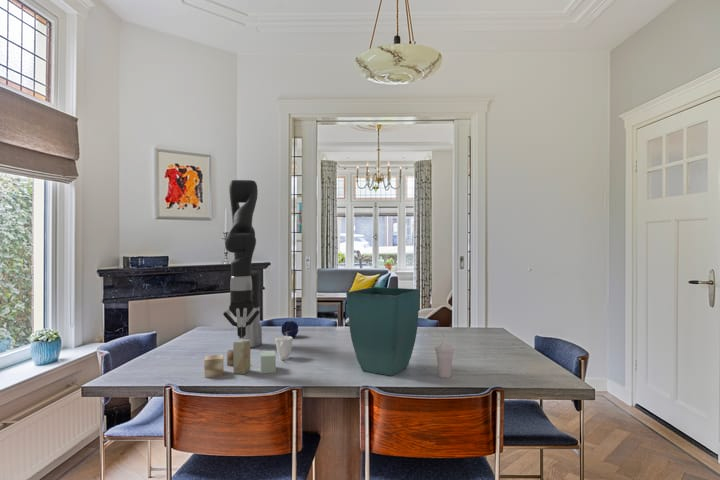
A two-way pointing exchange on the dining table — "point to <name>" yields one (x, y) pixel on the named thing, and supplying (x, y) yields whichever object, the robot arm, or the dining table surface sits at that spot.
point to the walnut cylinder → (230, 358)
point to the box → (241, 356)
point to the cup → (284, 346)
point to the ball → (290, 329)
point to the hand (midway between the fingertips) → (241, 337)
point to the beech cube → (213, 365)
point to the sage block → (267, 362)
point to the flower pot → (383, 327)
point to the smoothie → (444, 359)
